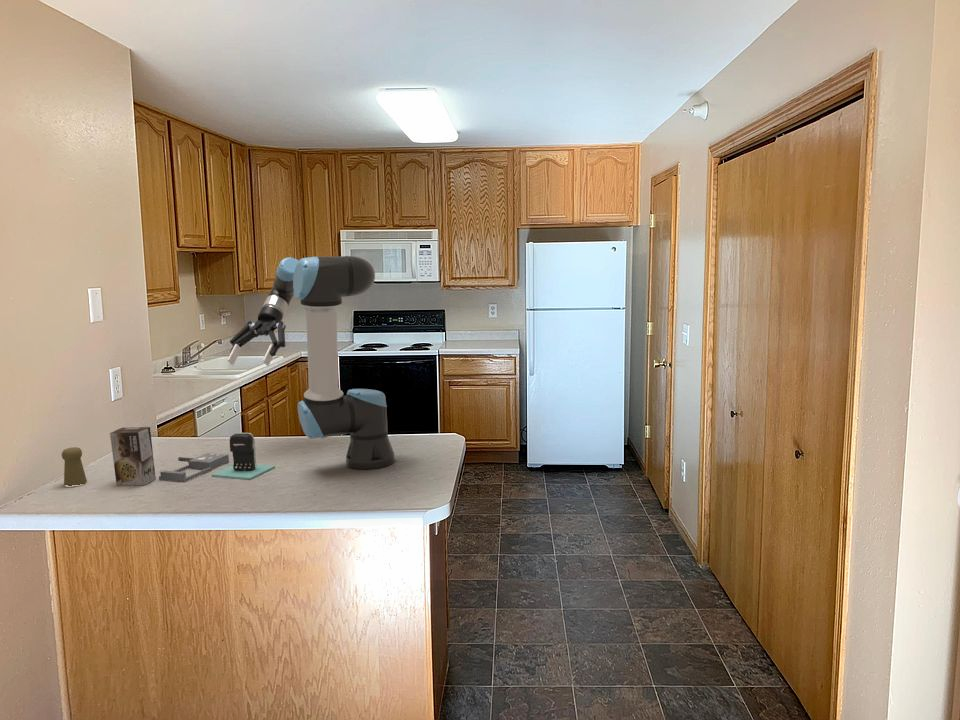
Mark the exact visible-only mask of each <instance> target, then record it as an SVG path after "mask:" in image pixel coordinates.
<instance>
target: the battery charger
mask: <svg viewBox="0 0 960 720" xmlns="http://www.w3.org/2000/svg"><path fill="white" fill-rule="evenodd" d="M255 443H256V442H255V436H254V435H253V434H252V433H251V432H235V433H234V434H232V435H230V437H229V451H230V452H231V453H232V459H233V464H232V465H233V469H234V470H235V471H250V470H253V469H255V468H256V465H257V462H256V460H257V459H256V444H255Z"/></svg>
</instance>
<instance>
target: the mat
mask: <svg viewBox="0 0 960 720" xmlns="http://www.w3.org/2000/svg"><path fill="white" fill-rule="evenodd" d="M273 468H274V469H275V468H276V467H275V465H267V464H256V468H255V469H253V470H250V471H235V470H234V469H233V464H232V465H230V466H228V467H226V468H223V469H221V470H218V471H216V472H214V473H212V474H211V477H212V478H213V477H214V478H225V479H226V478H227V479H237V480H248V481H251V480H253V479H255V478H257V477H260V476H261V475H263V474H265V472H266V473H267V471H268V472H270V471H272V470H274V469H273ZM271 469H272V470H271ZM269 470H270V471H269Z"/></svg>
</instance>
